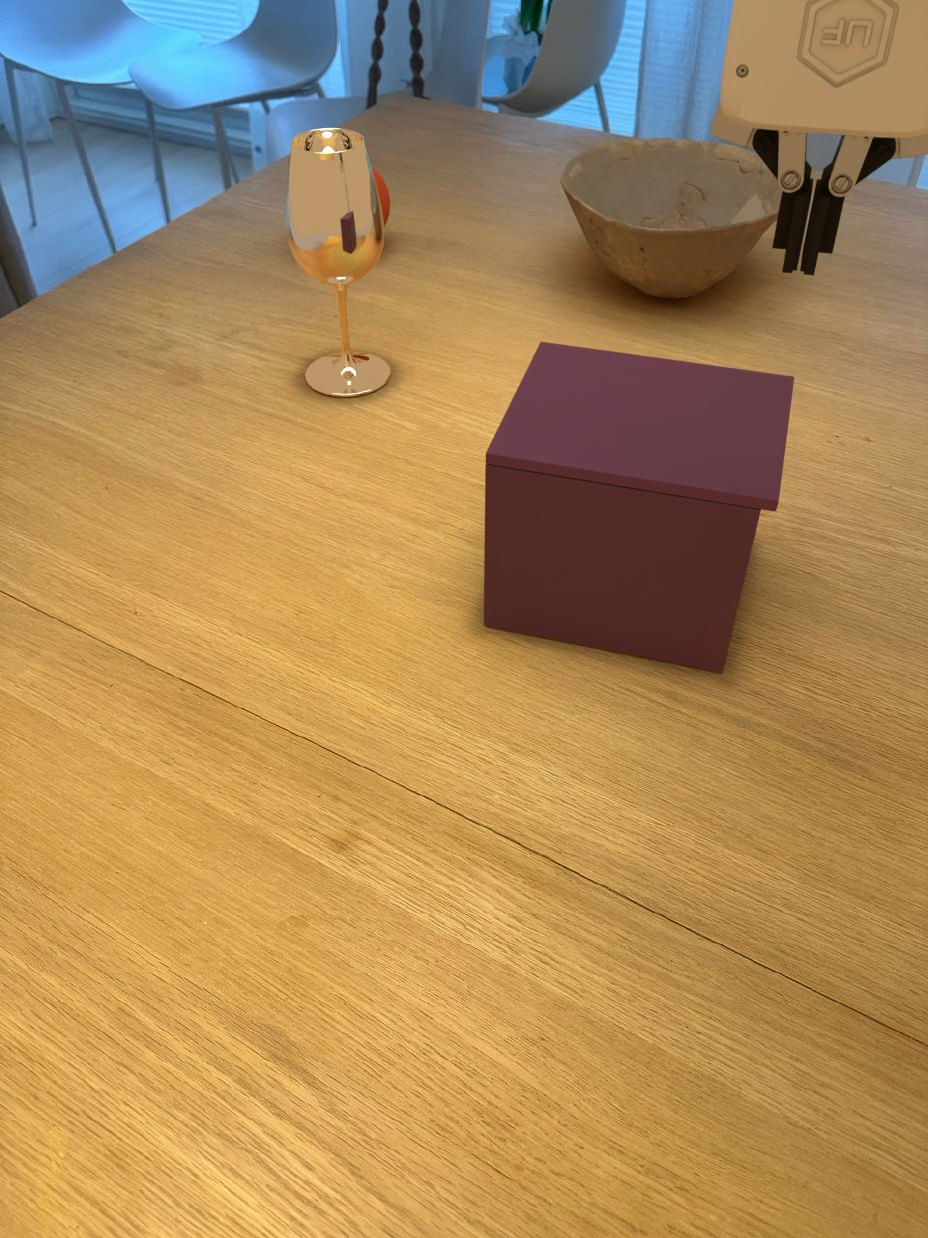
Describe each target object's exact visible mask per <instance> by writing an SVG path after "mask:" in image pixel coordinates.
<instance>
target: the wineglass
mask: <svg viewBox="0 0 928 1238" xmlns="http://www.w3.org/2000/svg"><path fill="white" fill-rule="evenodd" d="M368 151H369V150H368V148H367V145H366V141H365V138H364V136H363V135H362V134H361V133H359V132H358V131H355V130H351V129H347V128H340V127H339V128H338V127H324V128H314V129H309V130H306V131H303V132H300V133H298V134H296V135H295V136H293V138H292V139H291V140H290V150H289V159H288V169H287V180H286V196H285V233H286V239H287V243H288V249H289V251H290V253H291V255H292V258H293V259H294V261H295V263H296V264H297V265H298V267H300V269H301V270H302V271H303V272H304V273H305V274H306V275H307V276H309V277H310V278H312V279H314V280H315V281H317V282H318V283H320V284H323V285H325V286H329V287H332V288H333V291H334V294H335V298H336V299H335V300H336V303H337V311H338V321H339V331H340V343H341V344H340V345H341V351H339V352H334V353H329V354H327V355H323V356H321V357H320V358H317V359H315V360H314V361H313V362H312V363H310V364H309V366H308V367H307V368H306V370H305V374H304V378H305V382H306V383H307V385H308V386H309V387H310V388H311V389H312V390H314V391H316V392H318V393H321V394H323V395H326V396H330V397H340V398H351V397H358V396H364V395H367V394H368V395H369V394H370V393H373V392H375V391H377V390H379V389H381V388H382V387H384V386H385V385H386V384H387V383H388V382H389V381H390V379H391V376H392V369H391V367H390V364H389V363H388V362H387V361H386V360H384V359H383V358H382V357H380V356H378V355H376V354H372V353H368V352H364V351H355V350H354V351H352V350H351V346H350V333H349V321H348V308H347V307H348V305H347V304H348V303H347V300H348V299H347V298H348V289H349V286H351V285H353V284H355V283H357V282H359V281H361V280H363V279H364V278H365V277H366V276H367V275H369V273H370V272H371V271H372V270H374V268H375V266H376V265H377V263H378V262H379V260H380V258H381V255H382V254H383V250H384V246H385V227H384V221H383V213H382V207H381V202H380V197H379V193H378V189H377V185H376V181H375V176H374V173H373V169H372V167H373V165H372V161H371V159H370V155H369V152H368Z"/></svg>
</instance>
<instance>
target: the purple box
mask: <svg viewBox="0 0 928 1238" xmlns="http://www.w3.org/2000/svg"><path fill="white" fill-rule="evenodd" d="M484 466H485V469H484V471H485V473H484V479H485V480H484V548H483V549H484V552H483V553H484V555H483V556H484V561H483V563H484V564H483V627H486V628H491V629H496V630H501V631H507V632H511V633H516V634H520V635H521V634H522V635H526V636H532V637H536V638H541V639H547V640H552V641H556V642H561V643H562V642H563V643H567V644H572V645H577V646H582V647H587V648H592V649H597V650H602V651H608V652H612V653H617V654H622V655H627V656H631V657H632V656H633V657H638V658H643V659H647V660H653V661H658V662H663V663H667V664H673V665H678V666H683V667H688V668H693V669H699V670H703V671H708V672H713V673H719V674H723V673H724V669H725V664H726V661H727V656H728V653H729V647H730V644H731V640H732V635H733V631H734V627H735V623H736V618H737V613H738V610H739V605H740V601H741V597H742V592H743V588H744V584H745V580H746V576H747V572H748V567H749V562H750V558H751V556H752V555H751V554H752V549H753V546H754V541H755V537H756V533H757V528H758V525H759V520H760V516H761V511H762V509H756V508H750V507H744V506H738V505H732V504H726V503H720V502H714V501H708V500H702V499H696V498H689V497H683V496H677V495H671V494H665V493H659V492H653V491H647V490H641V489H635V488H629V487H623V486H617V485H611V484H605V483H599V482H593V481H587V480H581V479H575V478H568V477H562V476H556V475H550V474H544V473H538V472H532V471H526V470H520V469H514V468H508V467H502V466H496V465H490V464H486V463H485V465H484Z"/></svg>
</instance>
